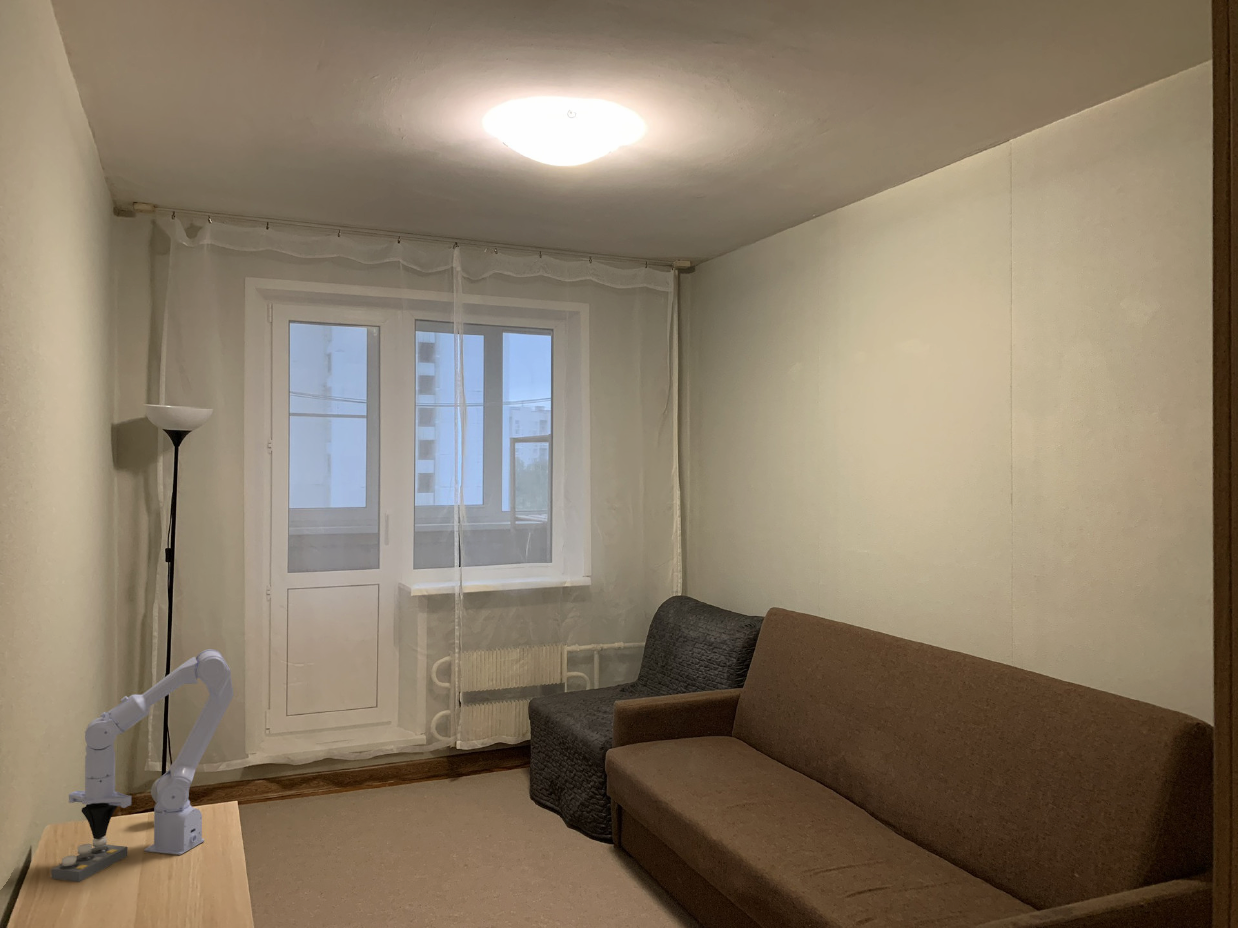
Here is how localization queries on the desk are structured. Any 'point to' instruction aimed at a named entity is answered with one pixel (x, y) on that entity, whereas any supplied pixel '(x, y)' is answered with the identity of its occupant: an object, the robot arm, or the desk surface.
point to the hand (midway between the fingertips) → (99, 837)
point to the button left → (69, 860)
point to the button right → (99, 842)
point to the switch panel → (90, 863)
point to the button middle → (84, 848)
